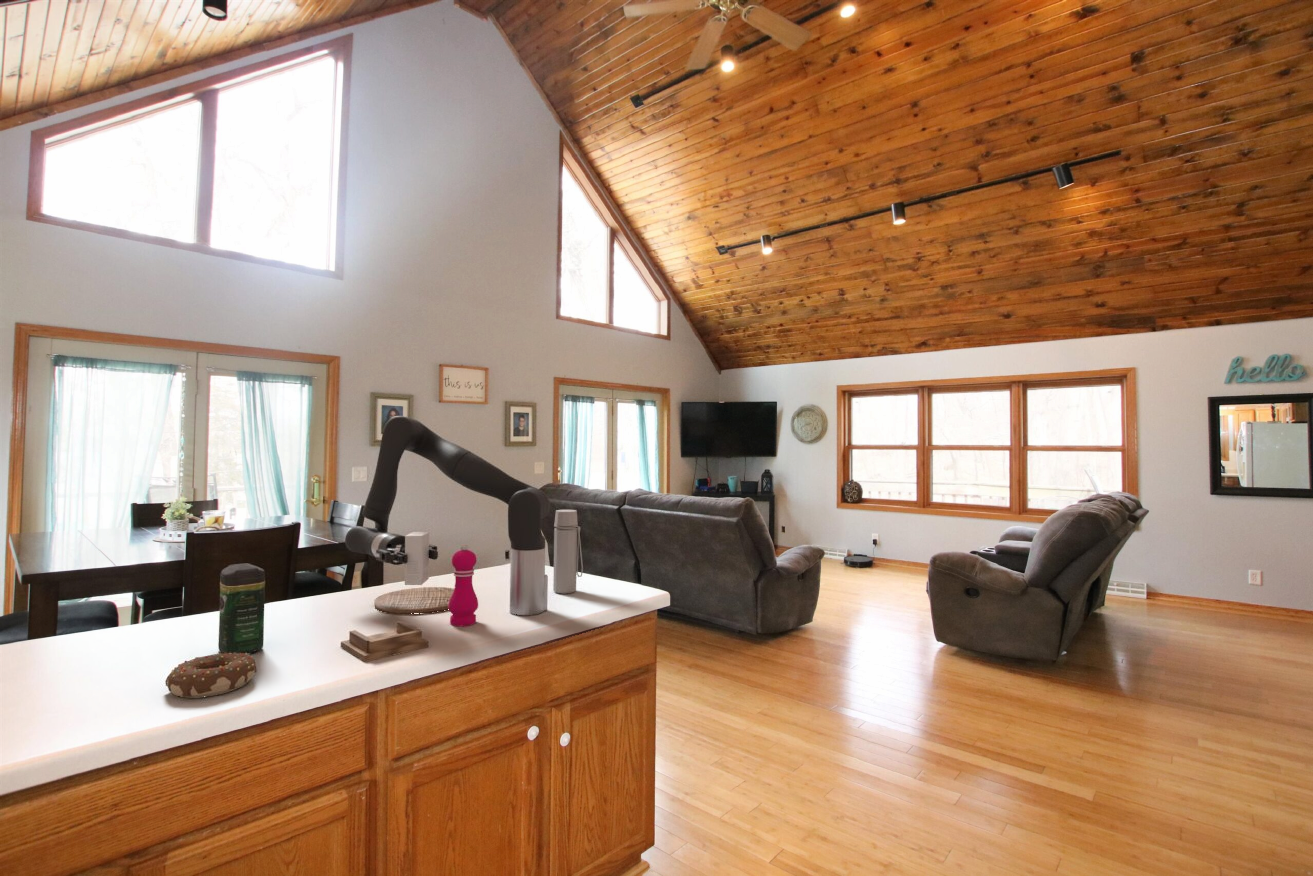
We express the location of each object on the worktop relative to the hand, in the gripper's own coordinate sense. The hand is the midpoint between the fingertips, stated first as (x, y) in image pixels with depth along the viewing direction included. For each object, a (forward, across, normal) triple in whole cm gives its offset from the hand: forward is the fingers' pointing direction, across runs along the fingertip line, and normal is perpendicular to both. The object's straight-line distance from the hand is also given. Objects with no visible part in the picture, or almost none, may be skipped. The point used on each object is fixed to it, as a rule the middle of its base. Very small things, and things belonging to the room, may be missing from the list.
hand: (421, 557), depth 153 cm
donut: (+7, -43, +18) cm, 47 cm away
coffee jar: (-12, -34, +18) cm, 41 cm away
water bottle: (-7, +51, +18) cm, 54 cm away
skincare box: (-2, 0, +7) cm, 7 cm away
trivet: (-25, +12, +19) cm, 33 cm away
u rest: (+7, -11, +18) cm, 22 cm away
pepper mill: (+1, +11, +18) cm, 21 cm away
